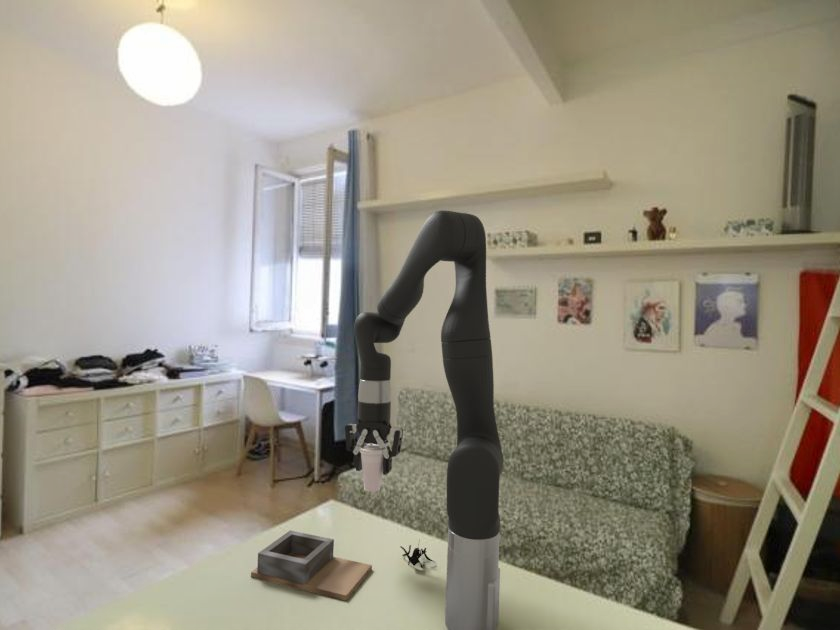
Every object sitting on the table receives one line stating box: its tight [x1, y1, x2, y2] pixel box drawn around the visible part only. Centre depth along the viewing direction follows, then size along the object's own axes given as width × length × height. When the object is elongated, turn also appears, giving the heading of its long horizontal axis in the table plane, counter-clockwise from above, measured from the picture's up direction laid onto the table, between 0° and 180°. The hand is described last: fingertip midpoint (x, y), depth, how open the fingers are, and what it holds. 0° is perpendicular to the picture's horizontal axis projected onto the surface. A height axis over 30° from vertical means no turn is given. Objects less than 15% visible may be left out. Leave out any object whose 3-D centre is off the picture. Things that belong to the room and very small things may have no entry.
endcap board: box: [250, 530, 373, 602], centre depth 98 cm, size 22×12×5 cm, turn 72°
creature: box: [399, 539, 436, 568], centre depth 104 cm, size 8×5×8 cm
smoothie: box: [360, 443, 385, 493], centre depth 106 cm, size 6×6×14 cm
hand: (372, 471), depth 106 cm, fingers closed on smoothie, 6 cm apart
